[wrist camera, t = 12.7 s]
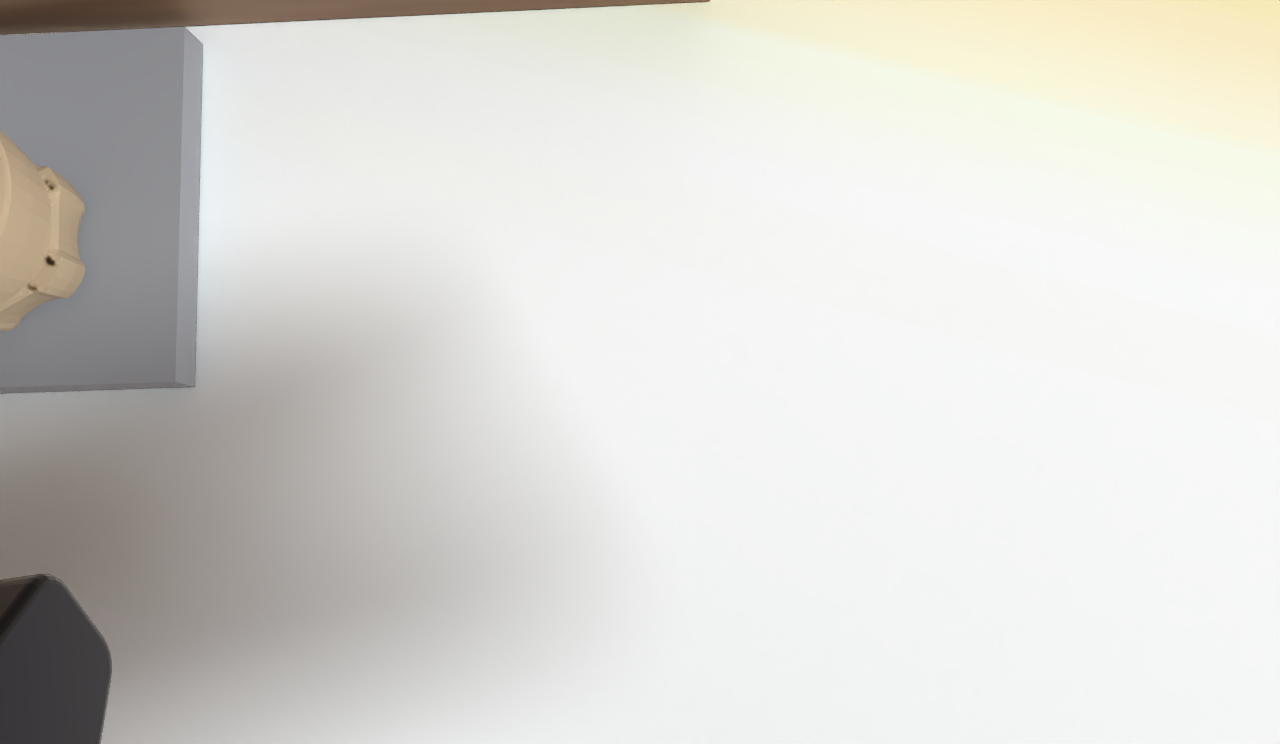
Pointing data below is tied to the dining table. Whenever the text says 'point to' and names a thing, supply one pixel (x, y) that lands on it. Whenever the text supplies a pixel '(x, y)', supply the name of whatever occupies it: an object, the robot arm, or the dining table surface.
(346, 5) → the walnut fence
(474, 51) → the dining table surface
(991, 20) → the dining table surface
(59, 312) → the end pad
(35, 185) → the handle
